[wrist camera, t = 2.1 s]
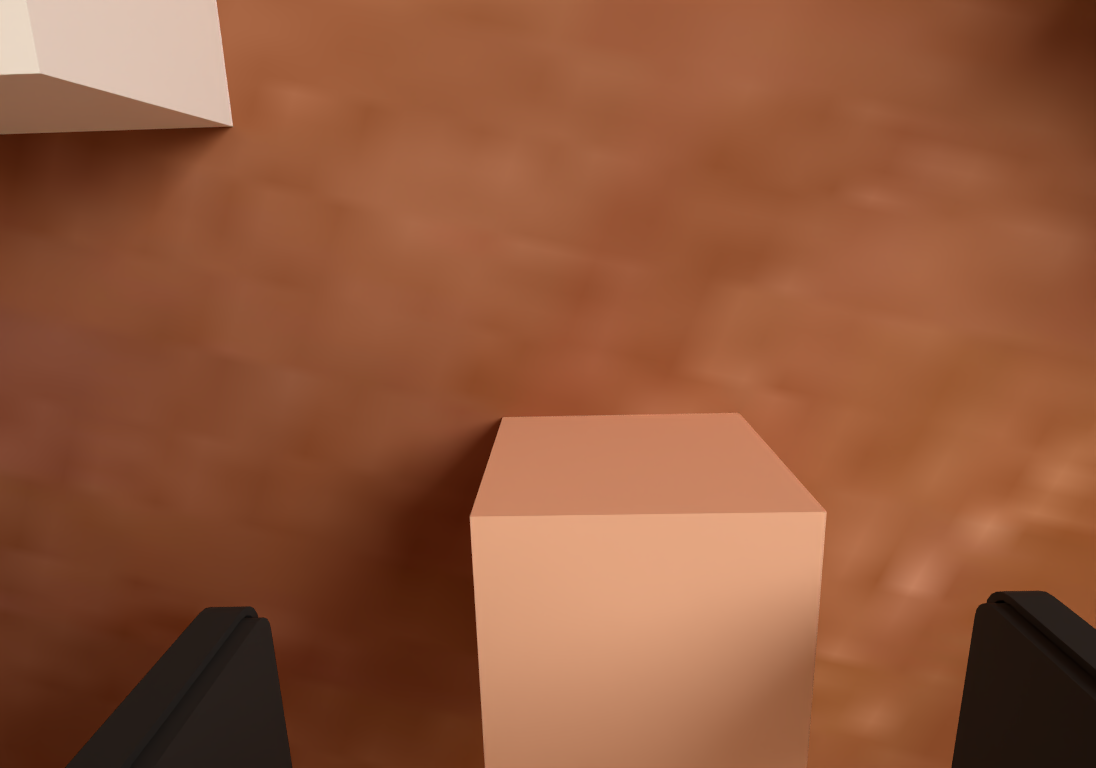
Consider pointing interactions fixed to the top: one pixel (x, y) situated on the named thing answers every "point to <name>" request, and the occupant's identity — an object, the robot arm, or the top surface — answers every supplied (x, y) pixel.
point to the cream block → (111, 66)
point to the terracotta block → (644, 595)
